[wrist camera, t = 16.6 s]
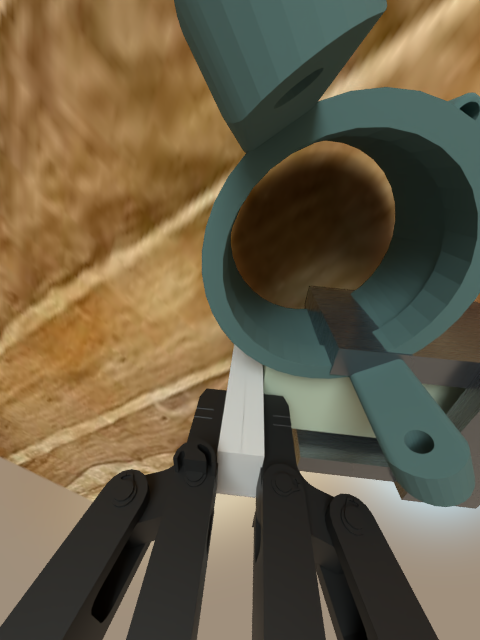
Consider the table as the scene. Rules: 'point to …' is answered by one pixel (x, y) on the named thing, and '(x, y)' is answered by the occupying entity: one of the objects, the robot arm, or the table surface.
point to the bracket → (410, 210)
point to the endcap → (367, 352)
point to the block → (334, 402)
